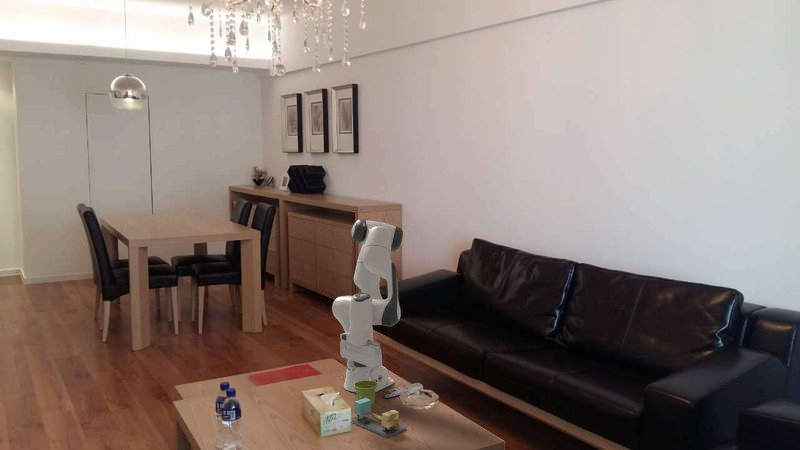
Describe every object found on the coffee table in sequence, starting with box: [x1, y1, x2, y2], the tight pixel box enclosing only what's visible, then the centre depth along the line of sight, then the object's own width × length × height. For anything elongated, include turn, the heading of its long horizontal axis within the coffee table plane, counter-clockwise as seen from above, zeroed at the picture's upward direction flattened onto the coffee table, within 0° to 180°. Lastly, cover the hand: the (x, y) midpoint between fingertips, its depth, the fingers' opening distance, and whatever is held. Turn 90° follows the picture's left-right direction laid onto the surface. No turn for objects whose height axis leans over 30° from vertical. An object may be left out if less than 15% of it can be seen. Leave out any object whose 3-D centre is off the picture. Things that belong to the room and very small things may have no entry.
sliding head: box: [354, 398, 372, 418], centre depth 252 cm, size 6×3×6 cm, turn 134°
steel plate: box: [351, 414, 407, 439], centre depth 247 cm, size 10×20×1 cm, turn 44°
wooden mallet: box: [362, 409, 402, 431], centre depth 247 cm, size 6×19×6 cm, turn 44°
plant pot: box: [354, 380, 377, 408], centre depth 267 cm, size 9×9×9 cm
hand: (360, 373), depth 251 cm, fingers open, 8 cm apart
